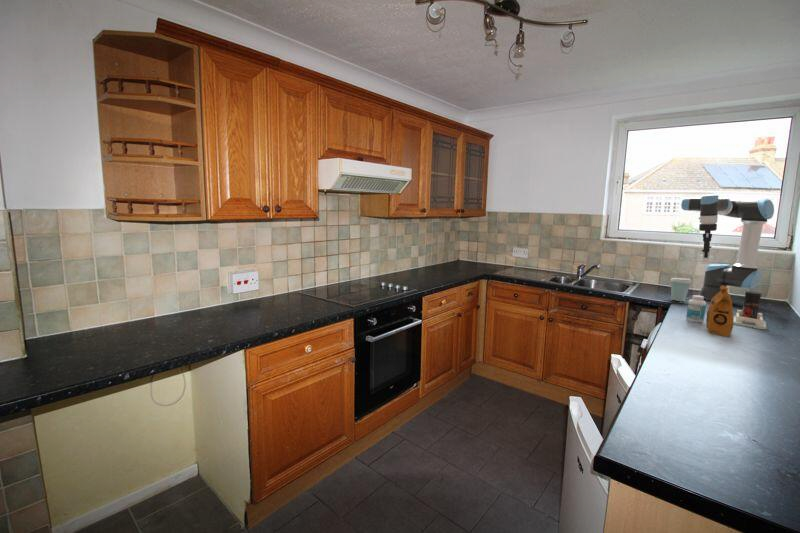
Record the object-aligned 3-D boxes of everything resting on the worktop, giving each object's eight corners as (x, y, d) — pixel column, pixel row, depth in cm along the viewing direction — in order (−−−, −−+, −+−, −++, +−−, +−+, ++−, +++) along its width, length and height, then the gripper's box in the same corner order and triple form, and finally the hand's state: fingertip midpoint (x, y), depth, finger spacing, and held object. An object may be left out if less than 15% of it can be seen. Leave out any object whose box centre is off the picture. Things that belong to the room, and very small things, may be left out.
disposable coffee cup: (663, 299, 246) (666, 276, 244) (676, 298, 249) (679, 276, 247) (680, 303, 236) (683, 280, 234) (692, 302, 239) (696, 279, 237)
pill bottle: (697, 319, 203) (701, 294, 201) (707, 323, 196) (711, 298, 194) (682, 318, 204) (686, 294, 202) (691, 322, 197) (695, 297, 195)
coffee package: (703, 333, 181) (711, 287, 177) (704, 327, 190) (711, 283, 187) (731, 338, 175) (739, 291, 171) (731, 331, 184) (738, 287, 181)
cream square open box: (731, 318, 207) (733, 309, 206) (764, 323, 198) (766, 313, 198) (731, 323, 197) (732, 314, 196) (766, 329, 188) (767, 319, 187)
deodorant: (759, 322, 195) (764, 294, 193) (747, 322, 196) (752, 293, 193) (749, 319, 201) (754, 291, 199) (737, 319, 201) (742, 291, 199)
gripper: (700, 221, 222) (698, 257, 225) (698, 225, 203) (696, 264, 206) (716, 221, 217) (714, 258, 220) (717, 225, 198) (714, 265, 201)
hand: (705, 261), depth 213 cm, fingers open, 13 cm apart
